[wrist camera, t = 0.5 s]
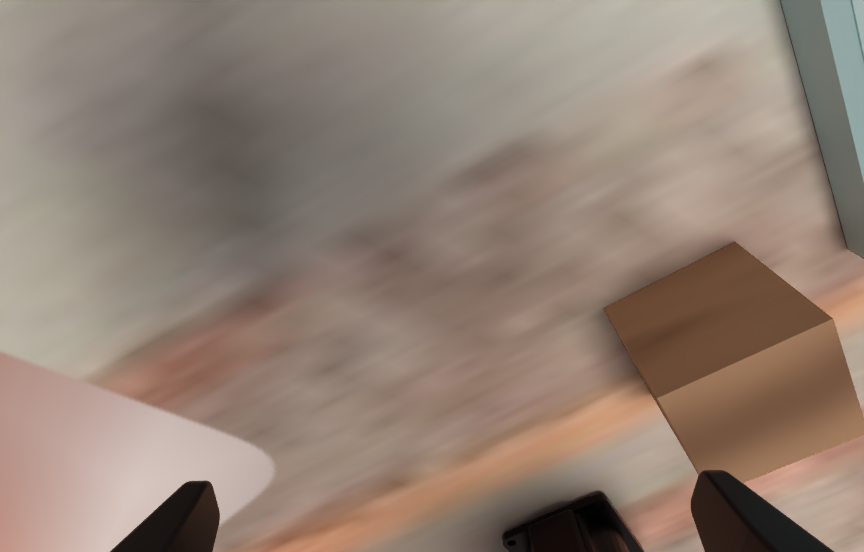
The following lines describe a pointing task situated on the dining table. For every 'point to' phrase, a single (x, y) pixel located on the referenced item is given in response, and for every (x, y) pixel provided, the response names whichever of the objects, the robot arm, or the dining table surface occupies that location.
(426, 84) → the dining table surface
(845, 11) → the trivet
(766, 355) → the walnut cube
